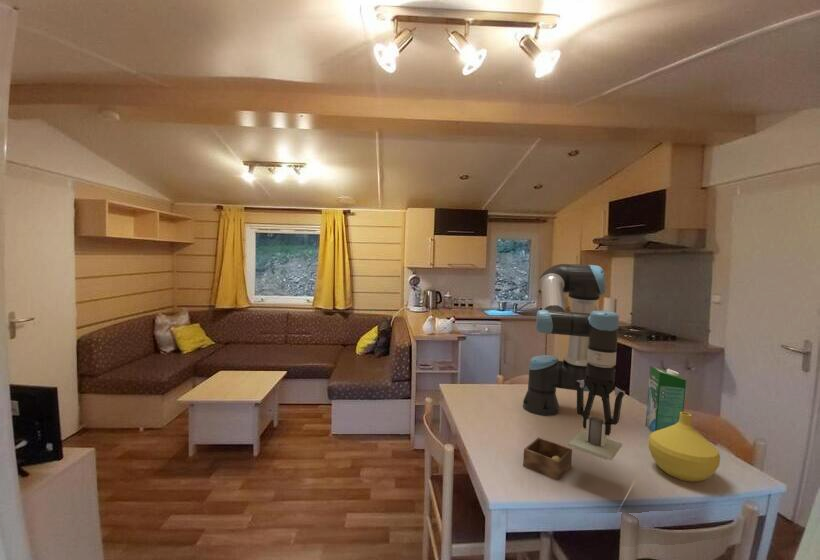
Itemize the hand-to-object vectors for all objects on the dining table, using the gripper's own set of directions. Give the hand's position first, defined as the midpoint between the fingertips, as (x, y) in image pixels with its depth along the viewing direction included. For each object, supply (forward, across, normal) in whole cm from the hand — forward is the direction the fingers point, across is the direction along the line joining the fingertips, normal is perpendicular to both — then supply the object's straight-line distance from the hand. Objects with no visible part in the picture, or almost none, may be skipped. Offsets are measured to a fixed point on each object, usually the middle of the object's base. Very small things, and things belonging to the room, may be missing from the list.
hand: (595, 442), depth 112 cm
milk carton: (+12, +10, +56) cm, 59 cm away
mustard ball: (+12, -11, 0) cm, 16 cm away
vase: (+12, +19, +26) cm, 34 cm away
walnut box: (+12, -13, -2) cm, 18 cm away
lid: (+1, 0, 0) cm, 1 cm away
